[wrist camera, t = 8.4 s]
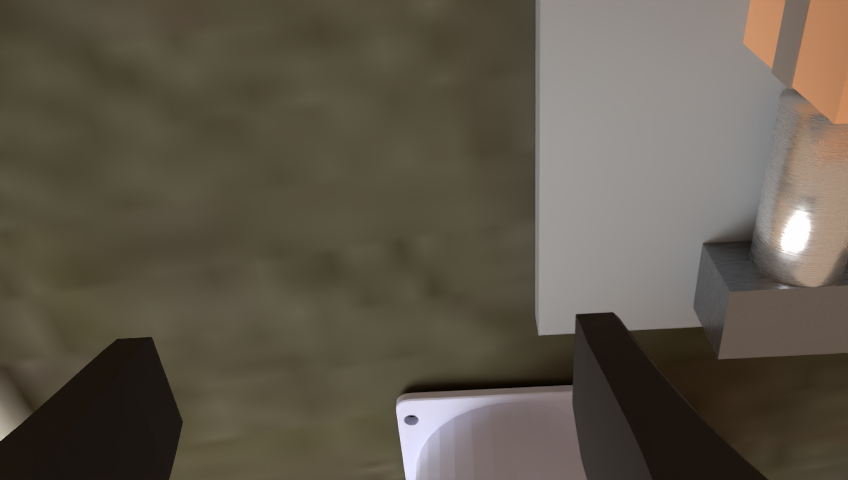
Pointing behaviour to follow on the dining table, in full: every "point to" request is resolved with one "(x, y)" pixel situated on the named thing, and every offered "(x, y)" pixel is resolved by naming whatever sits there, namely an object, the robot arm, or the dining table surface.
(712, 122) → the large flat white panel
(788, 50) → the taped shipping carton
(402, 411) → the robot arm
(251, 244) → the dining table surface
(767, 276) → the input shaft
